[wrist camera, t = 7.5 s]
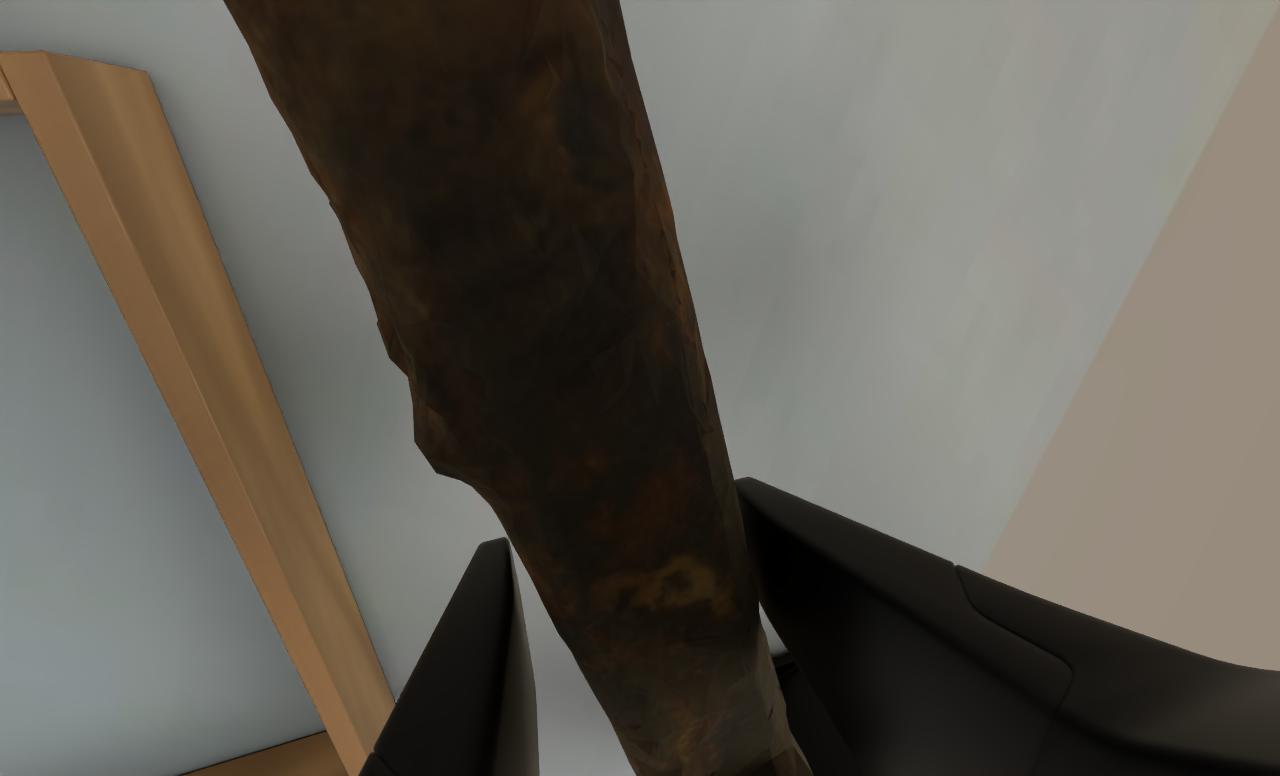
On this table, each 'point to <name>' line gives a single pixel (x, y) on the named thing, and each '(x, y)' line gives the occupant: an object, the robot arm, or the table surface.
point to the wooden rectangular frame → (207, 383)
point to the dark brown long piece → (546, 335)
